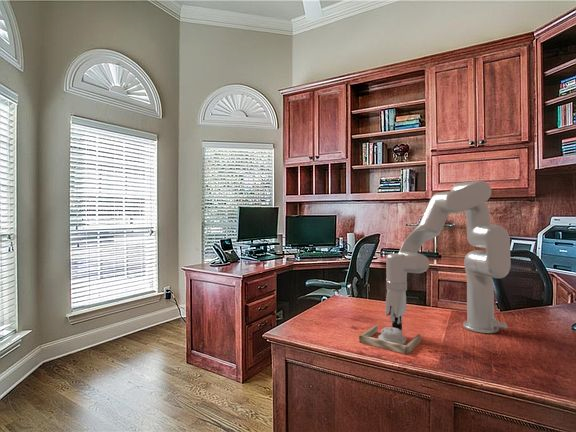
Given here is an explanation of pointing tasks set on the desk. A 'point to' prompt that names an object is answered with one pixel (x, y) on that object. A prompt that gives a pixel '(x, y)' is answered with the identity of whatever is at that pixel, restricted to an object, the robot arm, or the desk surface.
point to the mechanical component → (392, 335)
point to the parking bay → (388, 345)
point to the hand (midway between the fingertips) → (397, 332)
